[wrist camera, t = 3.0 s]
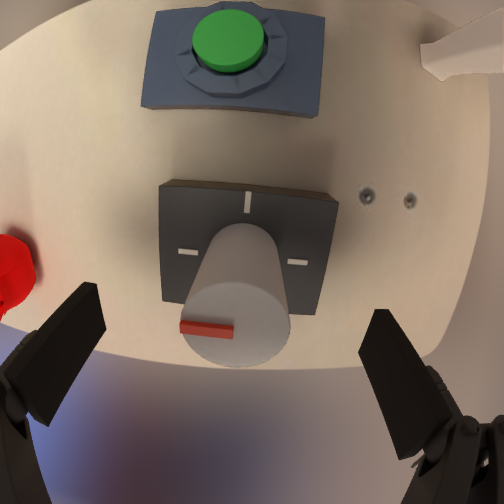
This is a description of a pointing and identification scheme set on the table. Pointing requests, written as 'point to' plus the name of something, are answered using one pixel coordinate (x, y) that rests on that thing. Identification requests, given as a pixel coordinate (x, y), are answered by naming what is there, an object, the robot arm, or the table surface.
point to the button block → (241, 82)
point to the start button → (228, 40)
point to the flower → (14, 272)
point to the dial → (237, 300)
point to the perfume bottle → (468, 49)
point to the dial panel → (251, 212)
